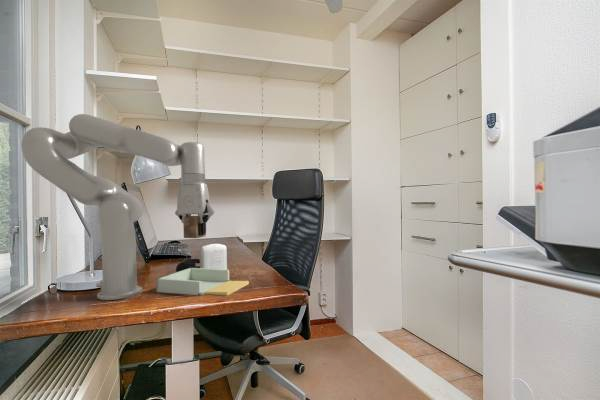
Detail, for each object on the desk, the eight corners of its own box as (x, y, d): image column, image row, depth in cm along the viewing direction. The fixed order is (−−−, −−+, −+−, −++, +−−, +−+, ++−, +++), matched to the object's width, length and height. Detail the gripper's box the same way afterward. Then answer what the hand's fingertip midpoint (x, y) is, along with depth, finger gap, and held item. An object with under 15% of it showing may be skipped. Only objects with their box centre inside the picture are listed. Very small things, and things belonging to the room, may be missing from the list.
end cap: (182, 274, 130) (182, 257, 130) (200, 273, 131) (200, 256, 131) (175, 280, 120) (175, 262, 120) (195, 279, 121) (194, 261, 121)
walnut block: (183, 238, 105) (183, 216, 105) (193, 236, 110) (192, 215, 110) (196, 238, 103) (196, 216, 103) (205, 236, 108) (205, 215, 108)
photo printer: (224, 272, 131) (224, 242, 131) (228, 274, 127) (228, 243, 127) (199, 276, 125) (198, 244, 125) (203, 278, 121) (202, 245, 121)
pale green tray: (156, 294, 101) (155, 279, 101) (191, 281, 117) (190, 267, 117) (201, 298, 96) (200, 282, 96) (231, 284, 112) (230, 269, 112)
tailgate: (204, 292, 97) (227, 292, 95) (227, 280, 110) (248, 280, 108) (204, 296, 97) (227, 296, 95) (228, 284, 110) (249, 284, 108)
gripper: (164, 180, 105) (166, 236, 105) (208, 178, 100) (210, 236, 100) (179, 181, 113) (181, 233, 113) (221, 179, 107) (223, 233, 107)
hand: (194, 234), depth 106 cm, fingers closed on walnut block, 5 cm apart
